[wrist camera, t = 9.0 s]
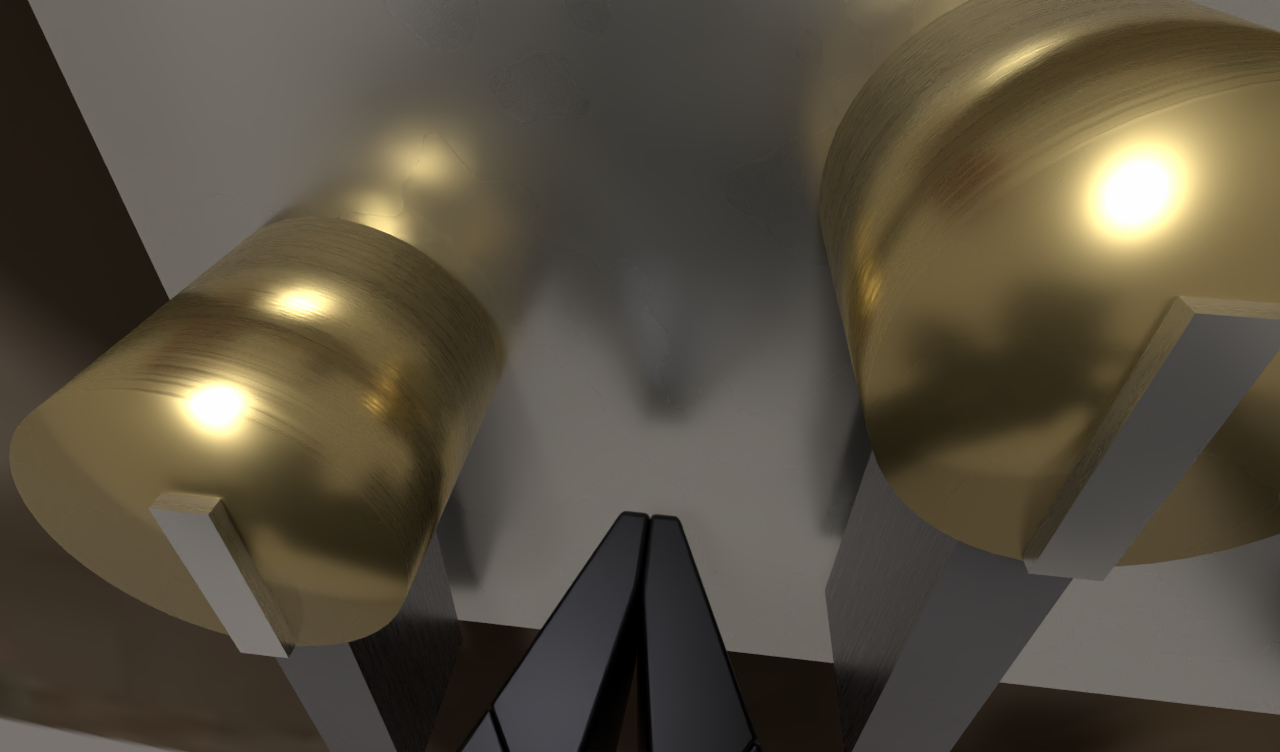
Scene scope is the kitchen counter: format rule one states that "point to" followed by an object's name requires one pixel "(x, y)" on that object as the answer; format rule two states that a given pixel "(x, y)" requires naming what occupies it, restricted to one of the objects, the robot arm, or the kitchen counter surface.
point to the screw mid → (1046, 331)
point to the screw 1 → (284, 466)
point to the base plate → (611, 282)
